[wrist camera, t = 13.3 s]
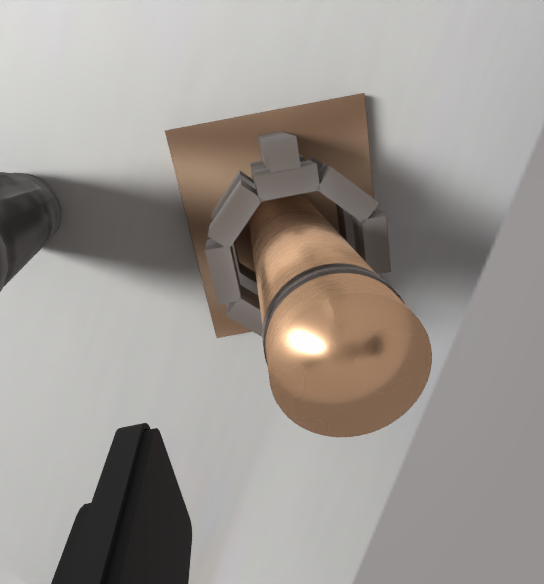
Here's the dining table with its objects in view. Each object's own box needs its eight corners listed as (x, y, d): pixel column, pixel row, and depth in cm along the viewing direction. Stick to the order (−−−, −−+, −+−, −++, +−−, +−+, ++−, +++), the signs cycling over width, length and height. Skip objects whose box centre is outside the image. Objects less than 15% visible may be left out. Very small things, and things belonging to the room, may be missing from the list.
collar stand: (167, 130, 27) (140, 136, 19) (359, 93, 27) (411, 85, 20) (217, 331, 32) (212, 400, 25) (378, 300, 33) (425, 359, 25)
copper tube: (242, 197, 28) (252, 309, 11) (314, 183, 28) (429, 275, 11) (256, 266, 30) (282, 451, 13) (323, 253, 30) (436, 421, 13)
